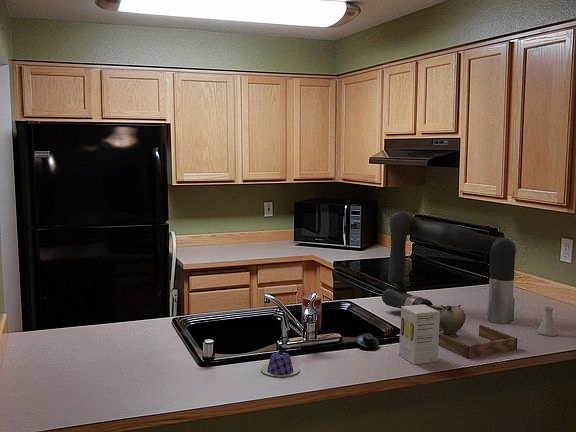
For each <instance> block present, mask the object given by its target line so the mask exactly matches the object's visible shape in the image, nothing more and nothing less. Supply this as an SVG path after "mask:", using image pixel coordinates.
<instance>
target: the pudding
mask: <svg viewBox="0 0 576 432" xmlns="http://www.w3.org/2000/svg"><path fill="white" fill-rule="evenodd" d="M300 369H301V368H300V367H299V366H298V365H297V364H294V363H292V357H291V355H290V354H289V353H286V352H284V351H282V352H281V351H277V352H274V353H272V354H271V356H270V358H269V362H268V363H265V364H264V365H262V366H261V367H260V371H261V372H262V373H263V374H266V375H268V376H272V377H279V376H282V377H289V376H294V375H295V374H298V373H299V372H300Z"/></svg>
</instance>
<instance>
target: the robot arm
mask: <svg viewBox="0 0 576 432" xmlns="http://www.w3.org/2000/svg"><path fill="white" fill-rule="evenodd" d="M389 228H390V232H389V233H390V252H389V253H390V254H389V262H388V275H387V281H388V282H389V283H391V284H394V287H395V288H386V289H384V290H383V292H382V294H381V300H382V302H383V303H384V305H386V306H389V307H392V308H396V309H400V310H401V306H411V305H423V304H424V305H426V306H428V307H431V308H433V309H435V310H437V311H441V310H442V309H445V308H446V306H447V305H446V306H445V305H442V304H441V305H439V306H438V305H434V304H433V302H432V301H431V300H429V299H428V298H424V297H421V296H419V295H414V294H411V293H408V291H407V290H408V289H407V284H406V280H405V279H406V271H407V269H406V268H407V255H406V253H407V252H406V246H407V245H406V244H407V237H408V236H412V237H418V238H421V239H425V240H427V241H430V242H431V243H432V242H433V243H434V244H437V245H440V246H443V247H447V248H450V249H456V250H460V251H461V250H462V251H470V252H471V251H472V252H473V251H474V252H480V253H483V254H486V255H489V283H488V284H489V285H488V286H489V288H488V305H487V320H488V321H489V322H491V323H496V324H501V325H502V324H511V323H513V322H514V320H515V302H516V298H515V297H514V287H515V265H516V261H515V260H516V253H517V246H516V244H515V243H514V241H513V240H512V239H509V238H507V237H499V236H495V235H494V236H492V235H488V234H483V233H479V232H477V231H474V230H471V229H468V228H465V227H462V226H458V225H453V224H450V223H444V222H437V221H436V222H435V221H428V220H424V219H421V218H417V217H415V216H413V215H410V214H408V213H406V211H405V212H404V211H397V212H394V213H393V214H392V215H391V217H390V219H389Z"/></svg>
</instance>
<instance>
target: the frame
mask: <svg viewBox="0 0 576 432" xmlns="http://www.w3.org/2000/svg"><path fill="white" fill-rule="evenodd" d="M478 336H479V337H481V338H483V339H486V340H488V341H485V342H478V343H473V344H471V343H470V344H466V343H464V342H461V341H459V340H457V339H454V338H453V337H451V338H450V337H447V336H445V335H443V334H441V332H439V343H438V347H440V348H443V349H445V350H448V351H450V352H451V353H453V354H456V355H458V356H460V357H463V358H465V359H471V358H477V357H482V356H488V355H493V354H499V353H500V354H501V353H504V352H510V351H512V352H513V351H517V350H518V338H517V337H515V336H512V335H510V334H507V333H504V332H503V331H499V330H497V329H494V328H491V327H488V326H486V325H484V324H480V325H479V326H478Z"/></svg>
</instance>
